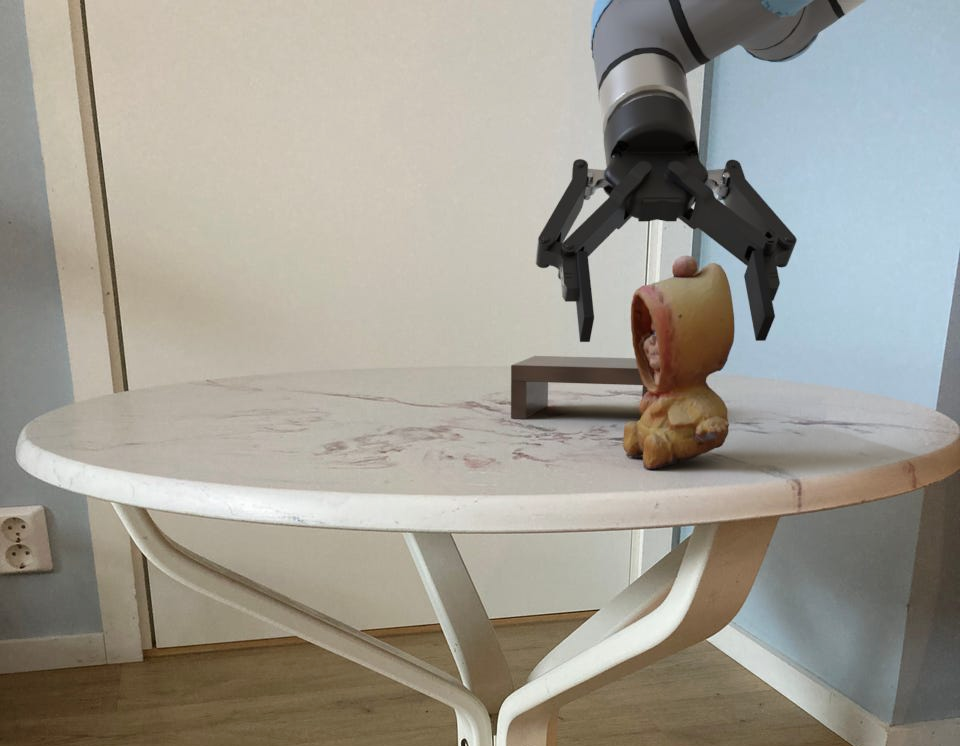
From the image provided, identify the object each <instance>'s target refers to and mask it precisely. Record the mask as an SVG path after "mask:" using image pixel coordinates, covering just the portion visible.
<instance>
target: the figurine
mask: <svg viewBox="0 0 960 746" xmlns="http://www.w3.org/2000/svg"><path fill="white" fill-rule="evenodd" d="M671 272H672V275H673V276H672V277H669V278H666V279H663V280H659V281H657V282H652V283H651V284H646V285H641V286H640V287H638V288H637V289H635V291H634V293H633V295H632V300H631V304H630V330H631V335H632V336H631V338H632V339H631V341H632V348H633V351H634V358H636V363H637V367H638V370H639V373H640V377H641V380H642V382H643V384H644V386H645V387H646V388H647V390H648V392H647V393H646V394H644V396H643V398H642V397H641V400H640V401H639V405H638V412H639V413H640V414H642V416H640V419H639V420H631V421H628V422H627V423H626V424H625V425H624V428H623V441H622V448H623V450H624V451H625V452H626V454H625V456H626V457H628V458H639V457H642V463H643V469H645V470H655V469H660V468H663V467H666V466H669V465H674V464H676V463H679V462H683V461H687V460H690V459H694V458H698V457H699V456H701V455H704V454H707V453H709V452H711V451H713V450H715V449H719V448H720V447H722V446H723V445H724V443H725V442H726V439H727V436H728V434H729V426H730V422H729V418H728V412H729V411H728V407H727V405H726V403H725V401H724V400H723V399H722V397H721V396H719V395H718V393H717V392H716V391H714V390H713V389H712V388H711V387H710V386H709V384H708V382H707V378H708V377H709V376H710V375H712V374H714V373H716V372H720V371H722V370H723V369H724V367H725V365H726V364H727V362H728V360H729V359H728V358H729V355H730V353H731V349H732V348H733V345H734V341H735V313H734V304H733V297H732V291H731V286H730V282H729V279H728V276H727V273H726V272H725V270H724V268H723V267H722V265H721V264H718V263H716V262H711V263H707V265H705V266H704V267H702V268H701V269H700V270H698V262H697V260H696V259H695V258H694V256H691V255H685V254H684V255H681V256H679V257H677V258H676V259H675V260H674V261H673V264H672V271H671Z"/></svg>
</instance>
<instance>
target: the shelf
mask: <svg viewBox="0 0 960 746" xmlns="http://www.w3.org/2000/svg"><path fill="white" fill-rule="evenodd" d="M549 383H551V384H552V383H553V384H555V383H557V384H589V385H617V386H618V385H619V386H620V385H621V386H623V385H624V386H642V393H641V399H642V398H643V396H644V394H646V393H647V392H648V390H647V388H646V387H645V386H644V384H643V382H642V380H641V377H640V373H639V370H638V367H637V363H636V357H598V356H597V357H596V356H595V357H594V356H557V355H533V356H531V357H528V358H526V359H523V360H521V361H518V362H516V363H514V364H511V365H510V419H514V420H515V419H516V420H527V419H529V418H530V417H532V416H533V415H535V414H537V413H539V412H540V411H542V410H543V409H545V408H547V407H548V406H549ZM640 414H641V413H640ZM641 416H642V414H641ZM641 416H640V417H641Z"/></svg>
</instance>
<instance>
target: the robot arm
mask: <svg viewBox="0 0 960 746" xmlns="http://www.w3.org/2000/svg"><path fill="white" fill-rule="evenodd" d="M867 1H868V0H595V1H594V4H593V7H592V11H591V22H590V24H591V25H590V26H591V27H590V28H591V35H590V50H591V57H592V60H593V63H594V71H595V78H596V84H597V85H596V87H597V92H598V102H599V103H598V104H599V110H600V112H599V113H600V120H601V131H602V135H603V148H604V149H603V150H604V156H605V165H606V168H605V169H598V168H597V169H596V168H589V163H588V162H587V160H585V159H581V158H578V159H575V160H574V161H573V162H572V169H571V177H570V181H569V184H568V186H567V187H566V189H565V191H564V192H563V194H562V195H561V197H560V199H559V201H558V203H557V204H556V206H555V208H554V210H553V211H552V214H551V215H550V217H549V218H548V220H547V222H546V223H545V225H544V227H543V229H542V231H541V232H540V234H539V235H538V238H537V246H536V255H535V265H536V266H537V267H538V268H541V269H547V268H549V267H550V266H551V267H553V268H556V269H557V270H558V271H557V277H558V279H559V280H560V288H561V297H562V299H563V301H564V302H569V303H571V302H572V303H573V302H575V306H576V316H577V325H578V335H579V337H578V338H579V343H590V342H591V337H592V332H593V326H594V321H595V312H594V302H593V294H592V293H593V292H592V284H591V273H590V266H589V265H590V264H589V257H590V255H592V254H593V252H594V251H596V250H597V249H598V248H599V246H601V244H603V243H604V242H605V241H606V240H607V239H608V237H609V236H610V235H611V234H613V233H614V232H615V231H616V230H620V229H621V228H622V227H623V226H624V225H626V223H627V222H628V221H629V220H630V219H631V218H635V219H637V220H638V222H639V223H641V222H653V221H656V220H658V221H663V222H677V220H680V221H681V222H683V223H684V224H685V225H687V226H688V227H689V228H690V229H692V230H696V229H699V230H700V231H701V232H703V233H704V234H706V236H708V237H709V238H710V239H711V240H713V241H714V242H716V243H717V244H718V245H719V246H721V247H722V248H723V249H724V250H726V251H727V252H728V253H730V254H731V255H732V256H734V257H735V258H736V259H738V260H739V261H740V262H741V263H742V264H744V265H745V266H746V269H745V272H744V274H743V278H744V283H745V289H746V295H747V299H748V305H749V311H750V316H751V322H752V328H753V333H754V339H755V341H756V342H766V340H767V337H768V335H769V333H770V331H771V329H772V325H773V323H774V320H775V318H776V314H775V308H774V304H773V302H774V301H775V298H776V296H777V293H778V290H779V287H780V284H781V281H780V275H779V271H778V268H782V269H783V268H786V267H787V266H788V265H789V262H790V260H791V257H792V255H793V251H794V249H795V246H796V243H797V237H796V235H794V234H793V232H792V231H791V230H790V229H789V227H788V226H786V224H785V223H784V222H783V220H781V218H780V217H779V216H778V215H777V213H775V211H774V210H773V209H772V208H771V207H770V205H769V204H768V203H767V202H766V201H765V200H764V199H763V197H761V195H760V194H759V193H758V191H757V190H756V189H755V188H754V187H753V186H752V185H751V184H750V183H749V181H748V180H747V179H746V176H745V173H744V170H743V167H742V165H741V163H740V161H738V160H737V159H729V160H727V161H726V162H725V165H724V168H718V169H707V167H706V166H705V165H703V163H702V162H701V160H700V153H699V152H700V151H699V146H698V139H697V133H696V127H695V122H694V118H693V107H692V103H691V97H690V91H689V88H688V79H687V74H688V73H690V72H692V71H694V70H695V69H697V68H699V67H701V66H703V65H705V64H708V63H709V62H711V61H712V60H713V59H716V58H717V57H719V56H720V55H722V54H724V53H726V52H728V51H729V50H732V49H733V48H735V47H737V46H740V47H742V48H743V49H744V50H745V52H746V53H747V54H748V55H750V56H752V57H753V59H754V58H755V59H757V60H759V61H764V62H769V63H786V62H789V61H793V60H794V59H795V60H796V59H797V58H799V57H800V56H802V55H803V54H805V53H806V52H807V51H808V50H809V49H810V48H811V47H812V45H813V44H814V42H815V41H816V40H817V37H818V36H819V34H820V33H822V32H823V31H824V30H826V29H827V28H829V27H830V26H832V25H833V24H835V23H836V22H838V20H840V19H842V18H843V17H844V16H846V15H847V14H849V13H850V12H852V11H853V10H855V9H857V8H858V7H860V6H861V5H862V4H864V3H866V2H867ZM601 188H602V190H603V192H604V193H605V194H606V195H607V196H608V198H607V199H605V201H603V202H602V204H601V205H600V206H599V207H597V208H596V210H594V212H592V214H590V216H588V217H587V218H586V219H585V220H584V221H583V222H582V223H581V224H580V225H579V226H578V227H577V228H576V229H575V230H574V231H573V232H572V233H571V234H570V235H569V236H568V234H569V232H570V231H571V229H572V227H573V225H574V224H575V221H576V220H577V219H578V217H579V215H580V213H581V211H582V209H583V206H584V203H585V201H589V200H590V199H591V196H593V195H595V193H596V191H597V190H598V189H601ZM715 194H716V196H715ZM693 205H694V206H693ZM692 207H693V208H692ZM567 236H568V237H567Z"/></svg>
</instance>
